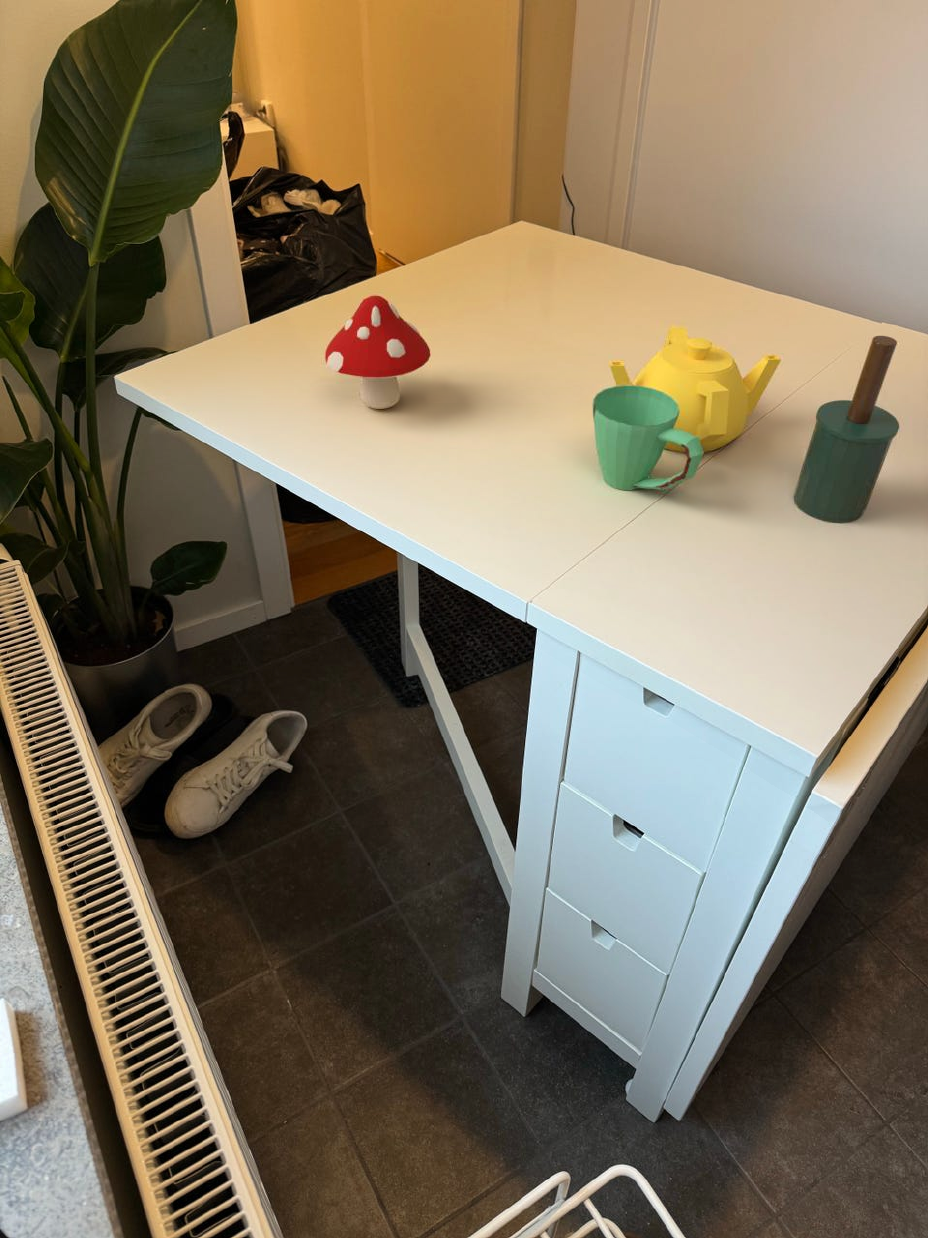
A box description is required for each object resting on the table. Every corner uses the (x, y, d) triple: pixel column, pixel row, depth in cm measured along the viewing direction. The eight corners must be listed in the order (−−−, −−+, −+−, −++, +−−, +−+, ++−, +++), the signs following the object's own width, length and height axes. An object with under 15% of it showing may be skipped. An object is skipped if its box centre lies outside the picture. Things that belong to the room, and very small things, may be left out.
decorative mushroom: (356, 440, 114) (347, 327, 104) (310, 396, 123) (298, 288, 113) (449, 413, 120) (450, 303, 110) (399, 373, 128) (396, 267, 119)
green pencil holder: (879, 511, 104) (910, 431, 97) (829, 530, 101) (858, 449, 94) (827, 478, 109) (854, 400, 102) (779, 495, 106) (803, 415, 99)
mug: (566, 476, 108) (575, 401, 102) (620, 449, 113) (632, 376, 107) (659, 530, 100) (675, 453, 94) (713, 500, 105) (732, 424, 99)
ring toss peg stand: (912, 436, 97) (947, 348, 91) (856, 455, 94) (889, 365, 87) (852, 403, 103) (881, 317, 96) (797, 419, 100) (823, 332, 93)
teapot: (659, 386, 127) (673, 303, 119) (769, 424, 119) (792, 338, 111) (596, 431, 117) (607, 344, 109) (711, 476, 109) (732, 385, 101)
